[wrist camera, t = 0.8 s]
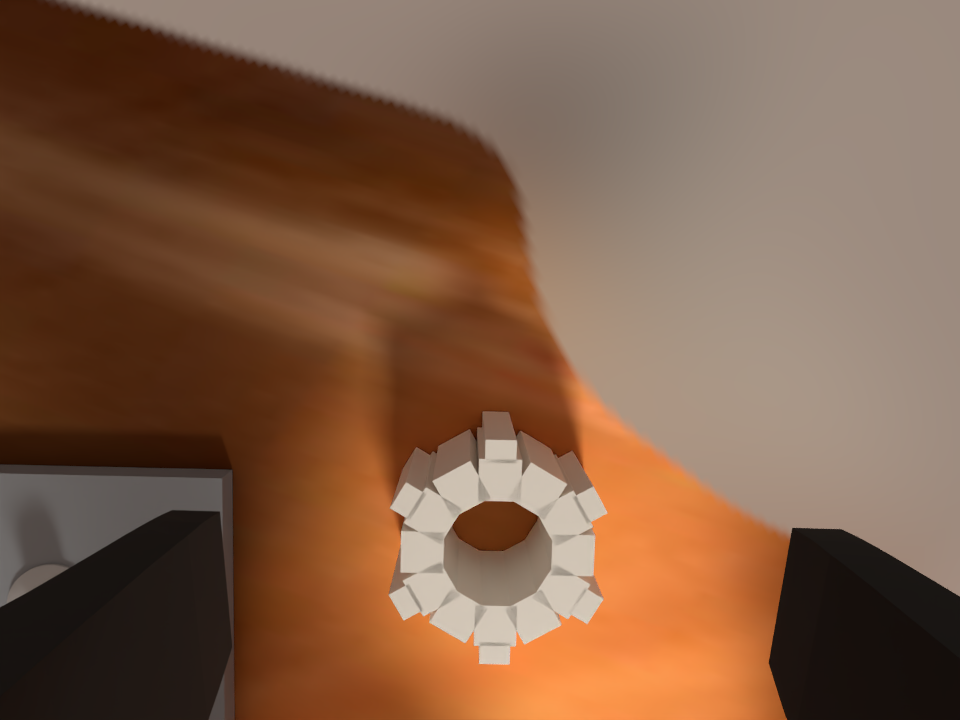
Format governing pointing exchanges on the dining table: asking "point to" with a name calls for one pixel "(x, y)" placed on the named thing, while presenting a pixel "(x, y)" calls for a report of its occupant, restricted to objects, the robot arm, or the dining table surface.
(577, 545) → the gear
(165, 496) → the gear board
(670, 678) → the dining table surface
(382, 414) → the dining table surface
